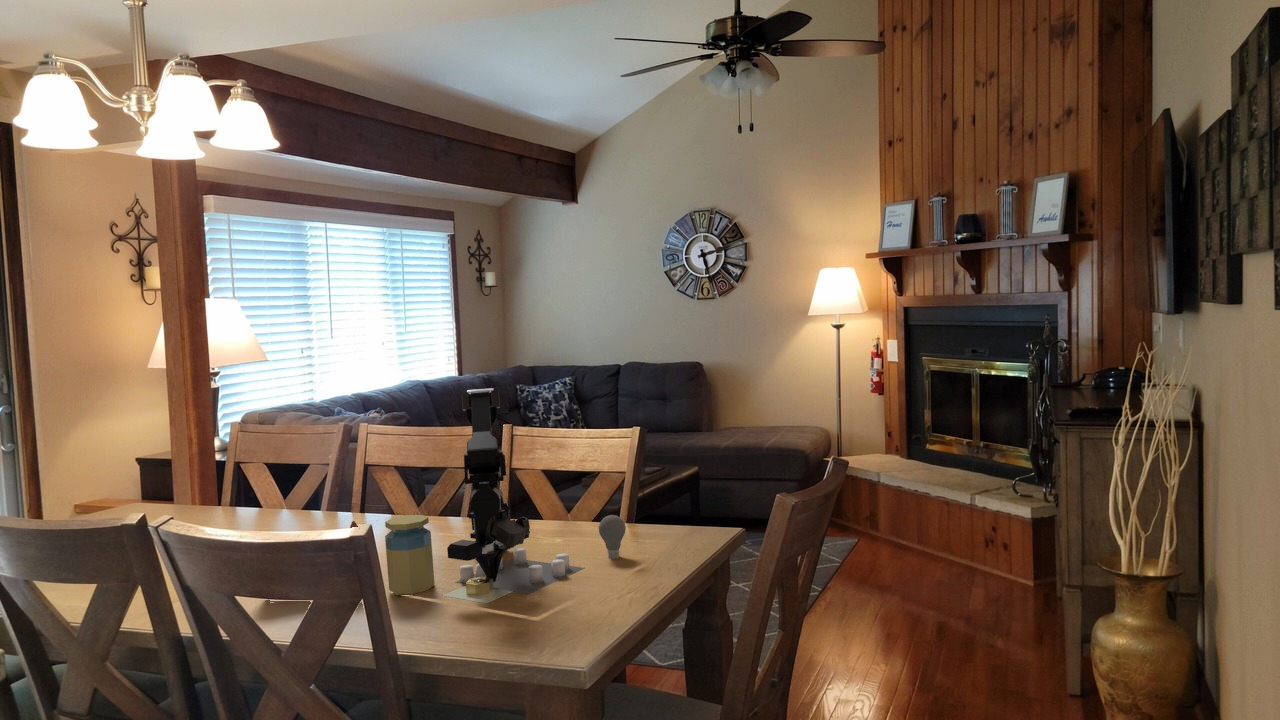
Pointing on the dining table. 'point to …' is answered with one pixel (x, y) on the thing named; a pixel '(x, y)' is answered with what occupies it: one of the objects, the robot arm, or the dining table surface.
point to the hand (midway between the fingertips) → (492, 582)
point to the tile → (483, 598)
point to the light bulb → (612, 534)
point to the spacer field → (523, 573)
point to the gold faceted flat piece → (479, 586)
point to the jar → (409, 555)
